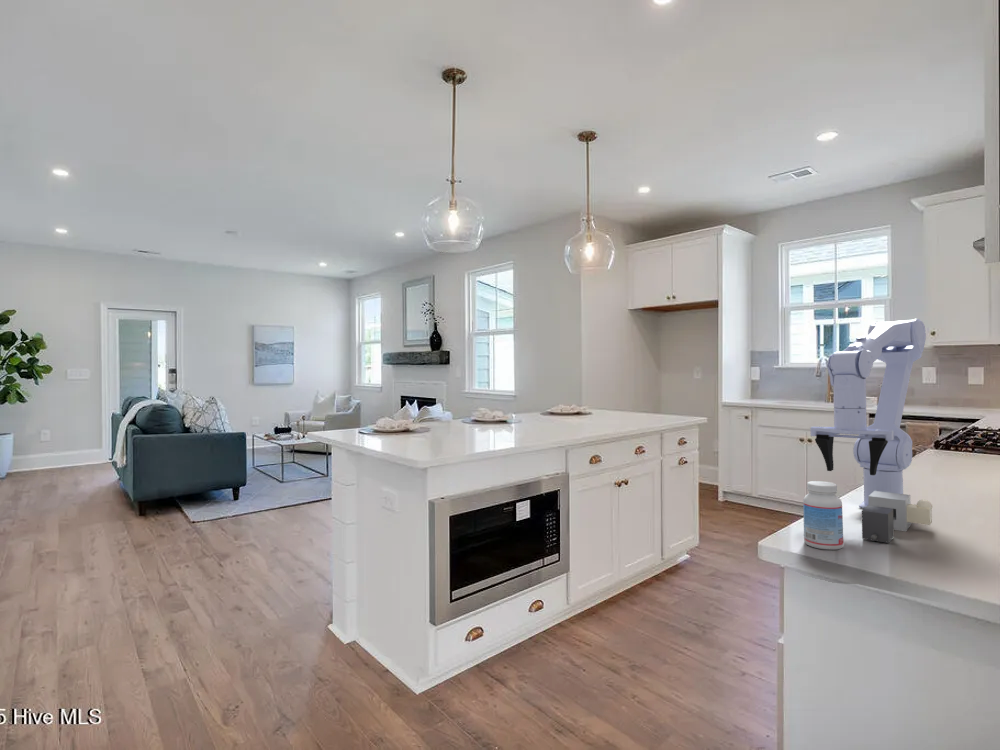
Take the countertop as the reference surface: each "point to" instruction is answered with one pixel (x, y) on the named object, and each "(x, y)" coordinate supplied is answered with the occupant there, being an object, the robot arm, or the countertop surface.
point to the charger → (877, 524)
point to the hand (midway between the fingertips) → (851, 472)
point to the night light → (920, 512)
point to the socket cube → (893, 506)
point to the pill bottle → (823, 516)
